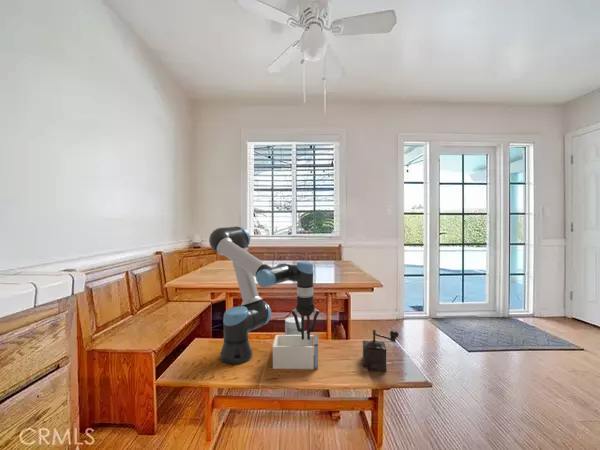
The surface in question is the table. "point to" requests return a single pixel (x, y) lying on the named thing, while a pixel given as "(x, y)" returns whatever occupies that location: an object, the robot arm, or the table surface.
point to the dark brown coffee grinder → (376, 352)
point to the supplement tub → (292, 326)
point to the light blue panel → (316, 350)
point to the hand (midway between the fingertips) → (305, 346)
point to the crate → (293, 352)
